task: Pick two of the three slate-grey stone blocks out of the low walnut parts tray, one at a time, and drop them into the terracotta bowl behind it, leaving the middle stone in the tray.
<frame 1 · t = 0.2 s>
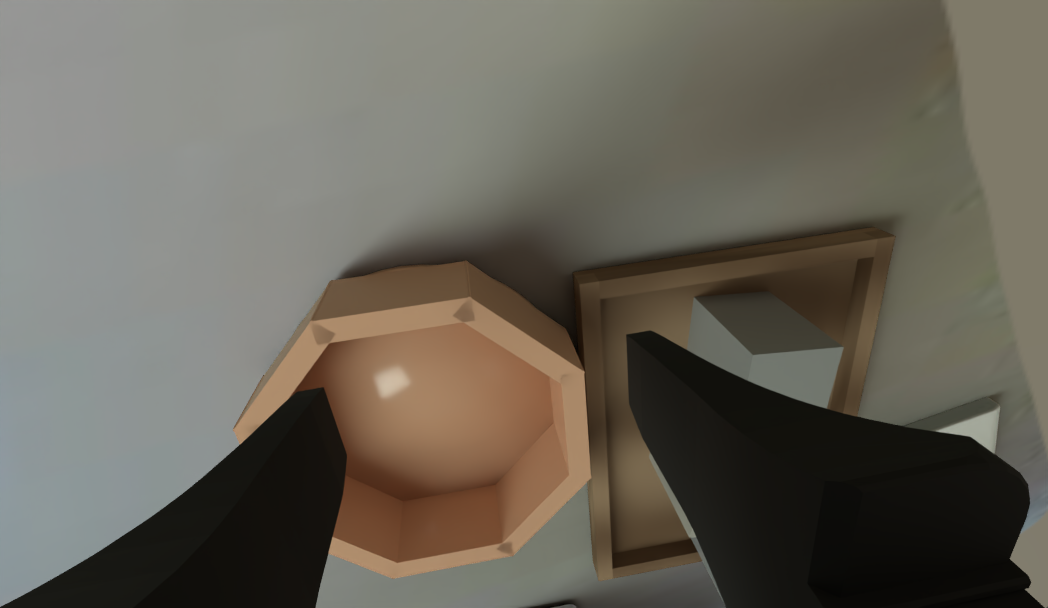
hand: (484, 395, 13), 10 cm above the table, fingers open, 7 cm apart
external hard drive: (904, 488, 33), on the table
stone b: (690, 425, 26), resting on tray
stone c: (724, 333, 24), resting on tray
bowl: (429, 395, 24), on the table
tray: (715, 415, 27), on the table
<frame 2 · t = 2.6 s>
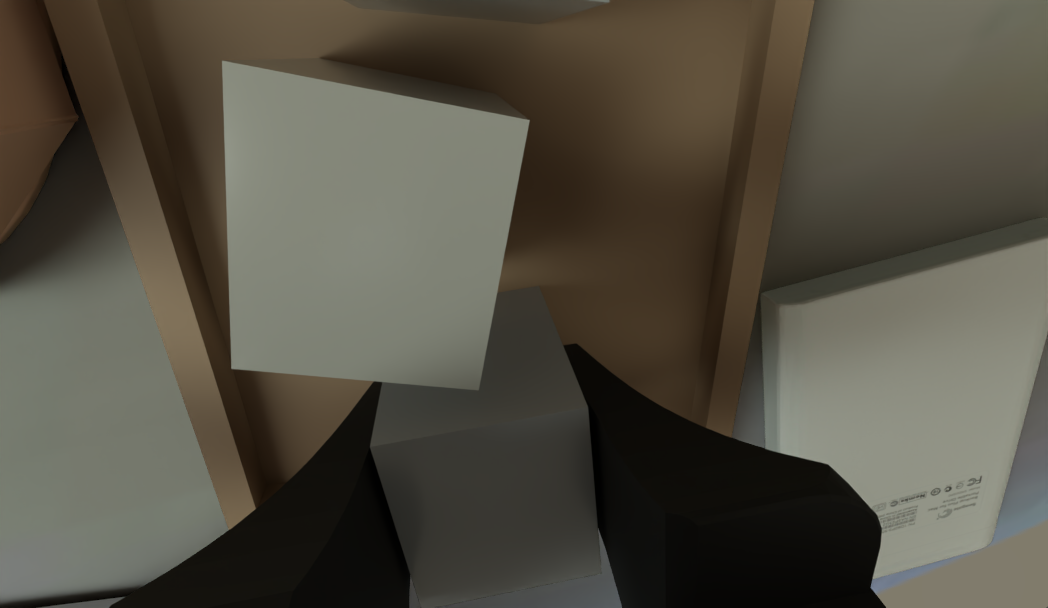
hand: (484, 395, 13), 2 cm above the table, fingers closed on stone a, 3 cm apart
external hard drive: (868, 413, 18), on the table
stone b: (400, 175, 11), resting on tray
tray: (468, 168, 12), on the table
stone a: (480, 366, 14), resting on tray, touching gripper
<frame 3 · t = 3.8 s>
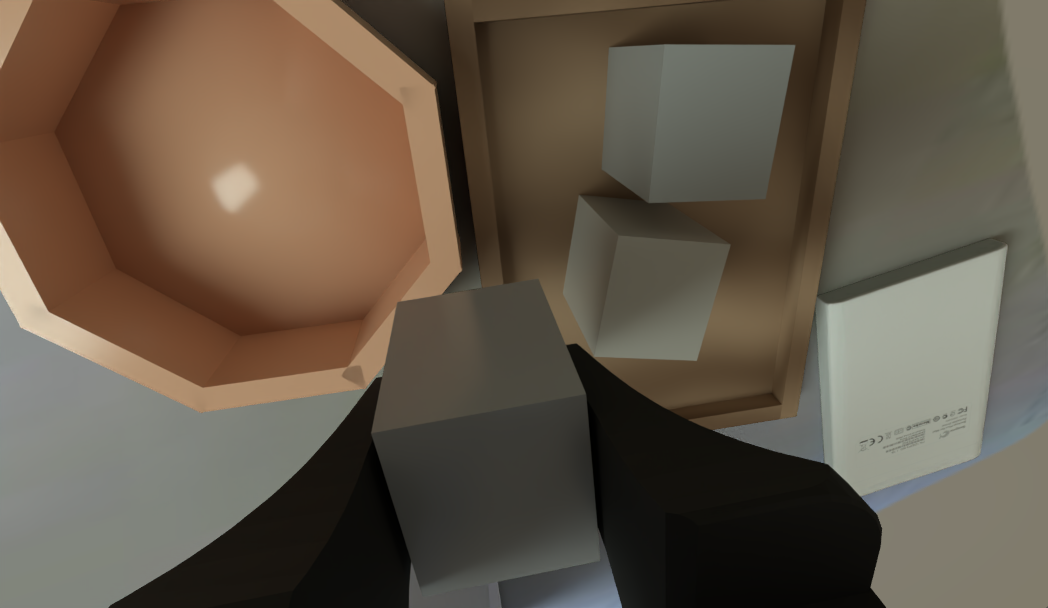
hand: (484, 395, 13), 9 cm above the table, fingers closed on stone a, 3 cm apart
external hard drive: (887, 370, 27), on the table
stone b: (613, 249, 21), resting on tray
stone c: (653, 110, 19), resting on tray
bowl: (263, 181, 18), on the table
tray: (647, 241, 21), on the table
stone a: (481, 359, 14), point 7 cm above the table, touching gripper
when the fingers open (5 cm above the table, at t = 5.5 s): stone a drops 3 cm, resting on bowl.
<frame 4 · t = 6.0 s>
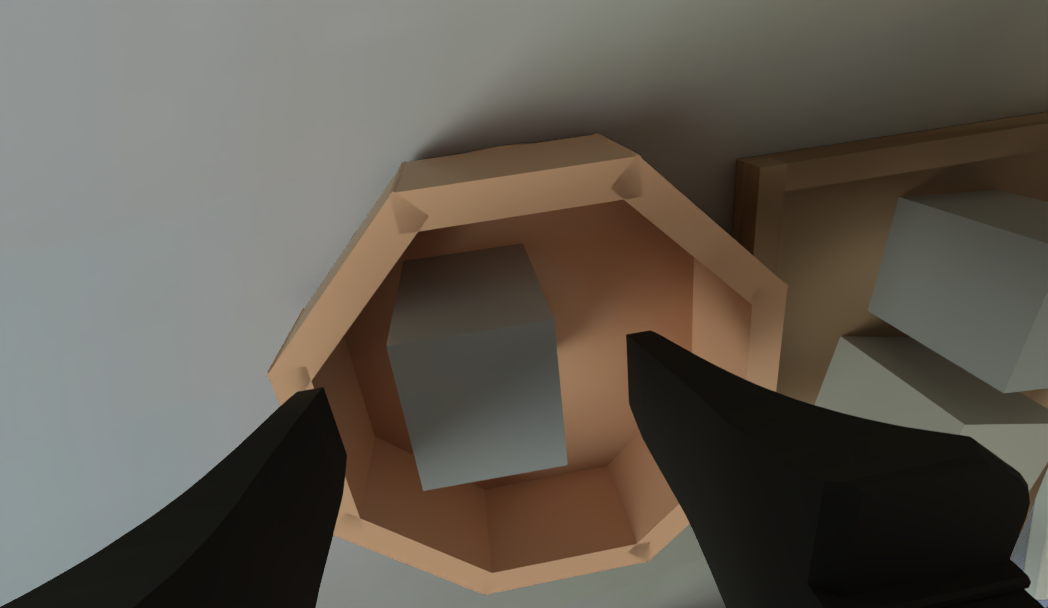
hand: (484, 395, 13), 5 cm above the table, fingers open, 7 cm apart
stone b: (864, 383, 20), resting on tray
stone c: (930, 252, 18), resting on tray
bowl: (526, 342, 18), on the table
tray: (893, 371, 20), on the table
stone a: (473, 312, 16), resting on bowl
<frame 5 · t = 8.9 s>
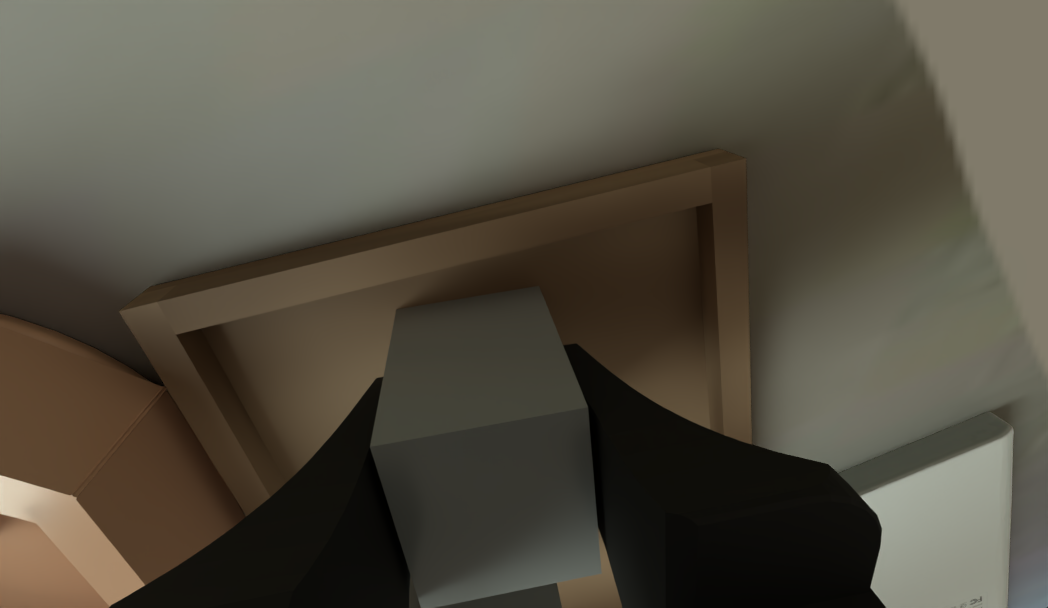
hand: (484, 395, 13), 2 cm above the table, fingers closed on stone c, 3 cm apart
external hard drive: (875, 551, 21), on the table
stone b: (472, 515, 16), resting on tray
stone c: (480, 366, 14), resting on tray, touching gripper
tray: (519, 493, 16), on the table
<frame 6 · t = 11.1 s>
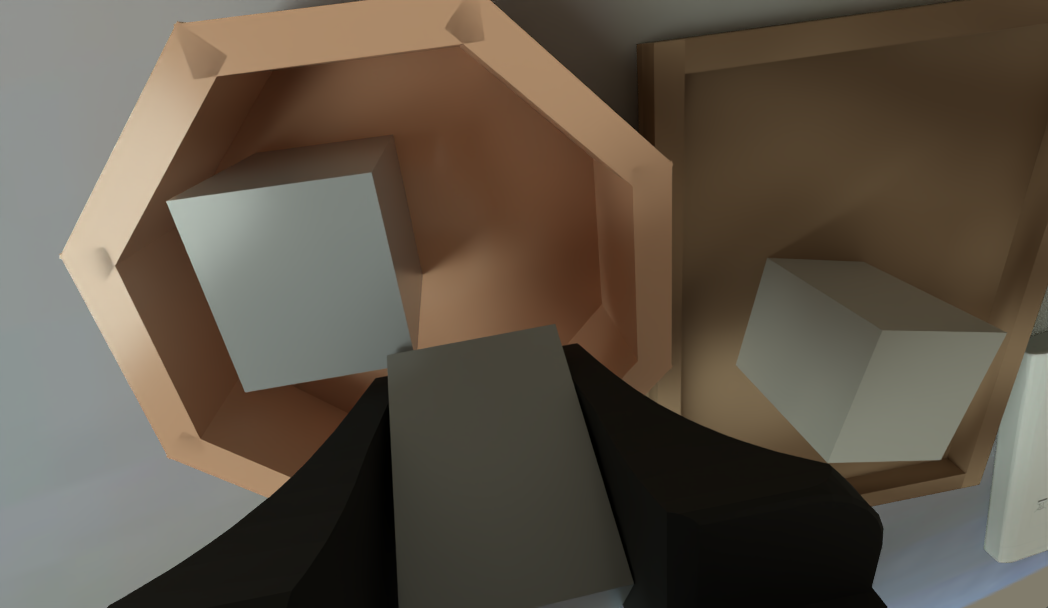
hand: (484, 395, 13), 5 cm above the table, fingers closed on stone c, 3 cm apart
stone b: (797, 314, 18), resting on tray
stone c: (481, 388, 12), point 5 cm above the table, tilted 25°, touching gripper, stone a
bowl: (414, 259, 16), on the table
tray: (831, 302, 19), on the table
stone a: (345, 218, 15), point 1 cm above the table, touching bowl, stone c
when the fingers open (5 cm above the table, at t = 11.4 s): stone c drops 1 cm and tips over, resting on bowl, stone a.
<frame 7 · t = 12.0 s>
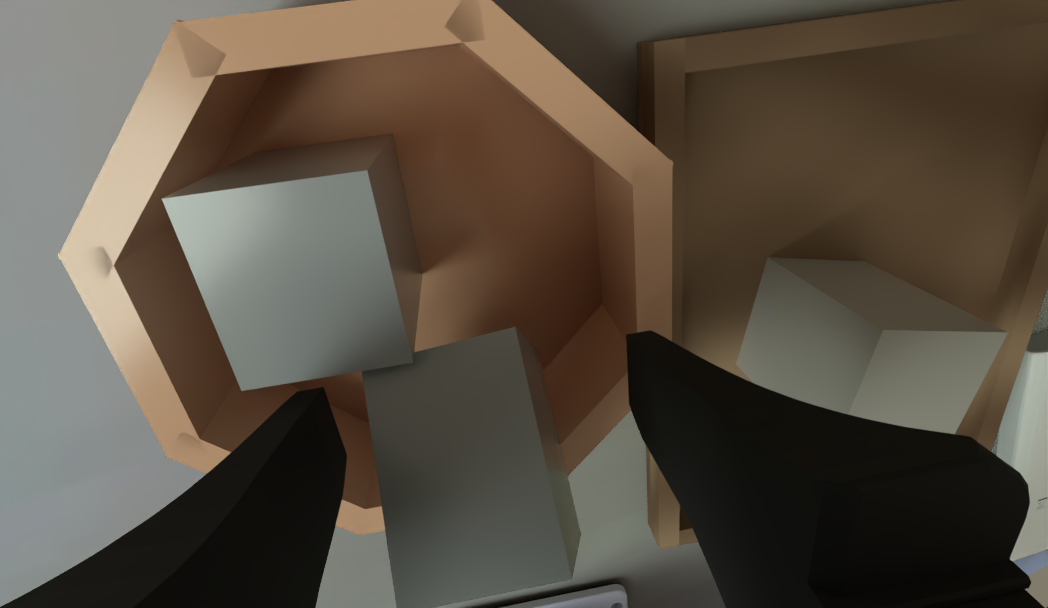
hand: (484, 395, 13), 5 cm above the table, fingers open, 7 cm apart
stone b: (798, 314, 18), resting on tray
stone c: (461, 356, 13), point 4 cm above the table, tilted 50°, touching bowl, stone a
bowl: (414, 258, 16), on the table
tray: (832, 302, 19), on the table
stone a: (344, 217, 15), point 1 cm above the table, touching bowl, stone c
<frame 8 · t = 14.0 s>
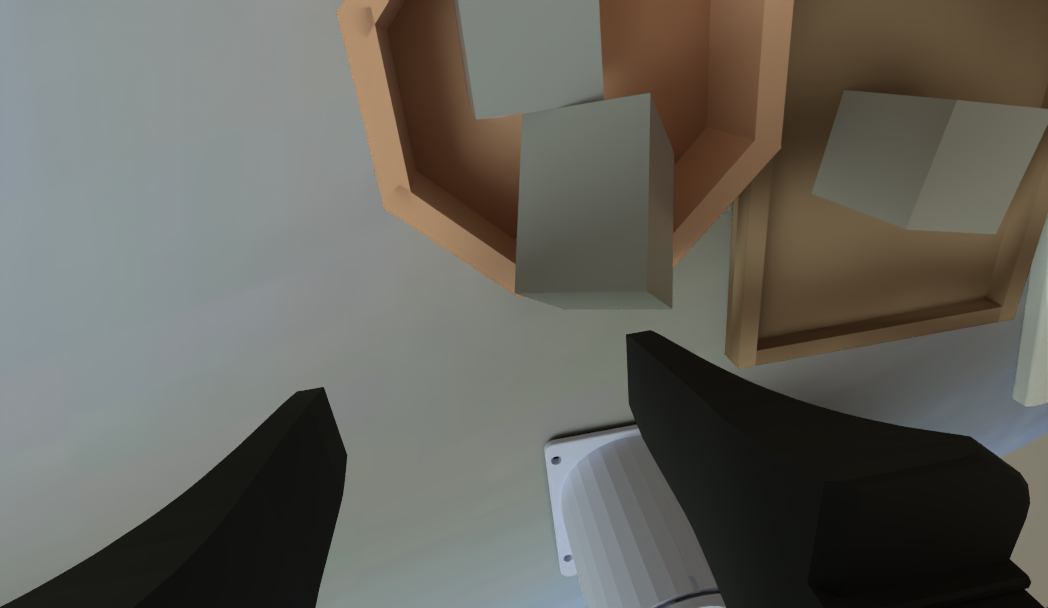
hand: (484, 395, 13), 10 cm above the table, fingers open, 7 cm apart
stone b: (866, 146, 21), resting on tray
stone c: (603, 134, 16), point 4 cm above the table, tilted 59°, touching bowl, stone a
bowl: (556, 81, 19), on the table
tray: (893, 140, 22), on the table
stone a: (510, 34, 18), point 1 cm above the table, touching bowl, stone c
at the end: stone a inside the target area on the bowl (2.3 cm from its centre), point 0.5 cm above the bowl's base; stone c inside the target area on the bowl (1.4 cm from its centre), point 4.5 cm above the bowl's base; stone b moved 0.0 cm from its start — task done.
